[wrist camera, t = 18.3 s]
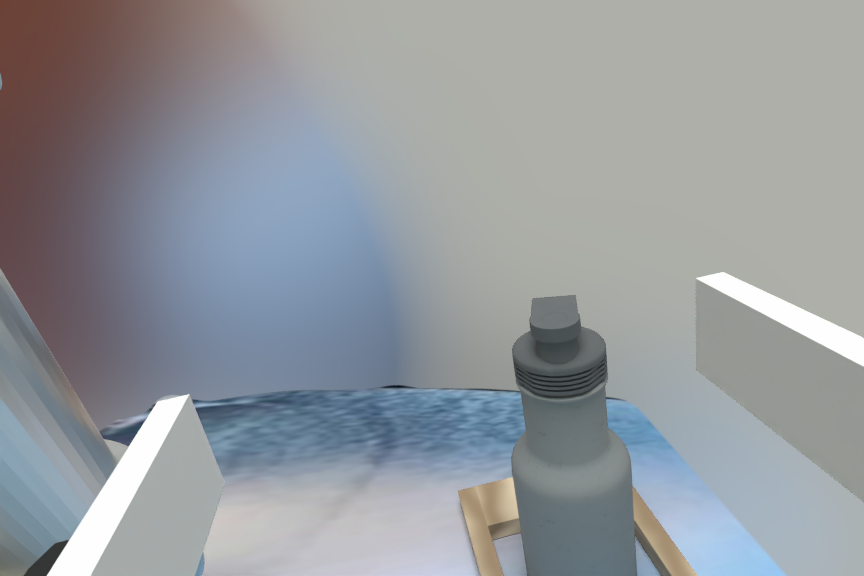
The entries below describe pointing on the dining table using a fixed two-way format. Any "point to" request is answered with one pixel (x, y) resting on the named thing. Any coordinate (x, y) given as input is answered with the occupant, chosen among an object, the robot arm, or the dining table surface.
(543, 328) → the water bottle
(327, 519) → the dining table surface
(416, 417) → the dining table surface
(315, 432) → the dining table surface
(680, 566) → the oak cut-out board
